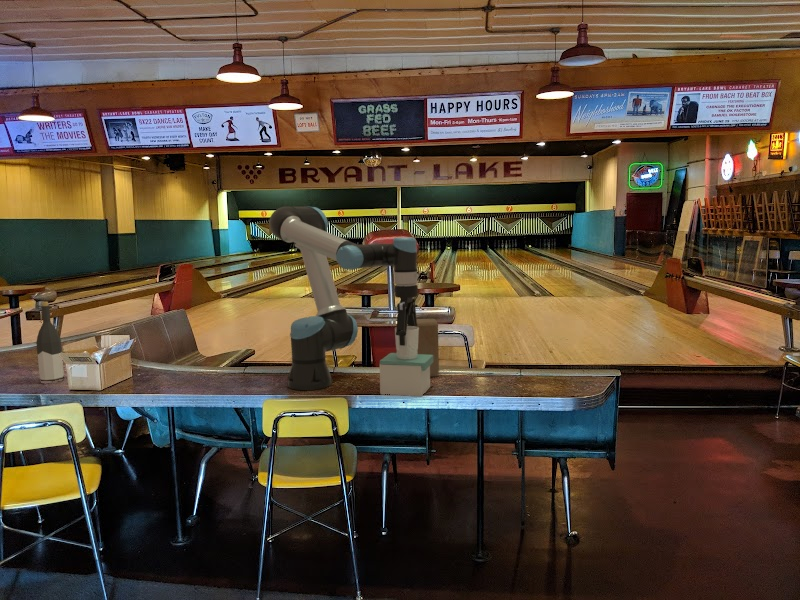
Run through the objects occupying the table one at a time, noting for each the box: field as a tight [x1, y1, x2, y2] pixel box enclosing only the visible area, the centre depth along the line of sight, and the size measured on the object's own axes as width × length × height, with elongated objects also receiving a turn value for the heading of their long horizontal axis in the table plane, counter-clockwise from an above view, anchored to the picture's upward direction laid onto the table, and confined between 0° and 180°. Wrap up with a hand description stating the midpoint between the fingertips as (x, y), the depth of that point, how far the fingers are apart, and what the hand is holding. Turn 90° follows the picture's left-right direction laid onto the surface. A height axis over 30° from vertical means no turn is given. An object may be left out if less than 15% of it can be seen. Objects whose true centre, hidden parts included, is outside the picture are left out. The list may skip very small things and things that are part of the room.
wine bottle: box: [35, 301, 65, 381], centre depth 235 cm, size 8×8×30 cm
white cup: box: [394, 325, 419, 360], centre depth 209 cm, size 8×8×10 cm
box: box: [379, 363, 431, 397], centre depth 210 cm, size 14×12×10 cm
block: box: [417, 318, 440, 378], centre depth 231 cm, size 10×10×20 cm
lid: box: [379, 352, 433, 371], centre depth 210 cm, size 15×13×2 cm
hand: (407, 351), depth 209 cm, fingers open, 10 cm apart
